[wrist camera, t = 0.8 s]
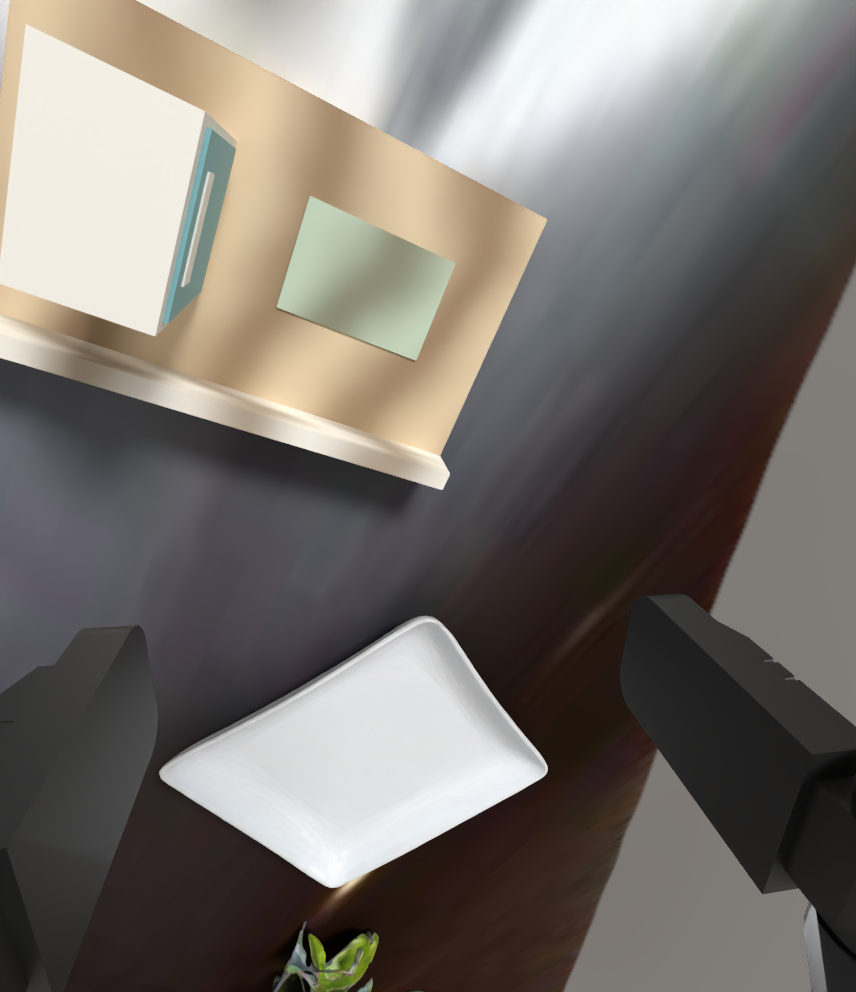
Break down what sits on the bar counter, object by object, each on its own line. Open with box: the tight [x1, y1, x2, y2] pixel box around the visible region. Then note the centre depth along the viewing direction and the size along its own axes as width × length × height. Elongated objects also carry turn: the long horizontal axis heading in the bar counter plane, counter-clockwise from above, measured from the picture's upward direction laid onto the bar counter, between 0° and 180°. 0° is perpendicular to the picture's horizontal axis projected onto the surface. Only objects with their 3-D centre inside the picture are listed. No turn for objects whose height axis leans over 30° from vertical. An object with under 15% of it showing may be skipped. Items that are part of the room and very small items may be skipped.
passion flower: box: [272, 921, 379, 992], centre depth 51 cm, size 11×11×12 cm
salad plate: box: [159, 616, 548, 888], centre depth 41 cm, size 21×21×3 cm
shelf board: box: [0, 0, 547, 490], centre depth 25 cm, size 22×14×3 cm, turn 67°
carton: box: [0, 24, 237, 336], centre depth 19 cm, size 6×4×9 cm
